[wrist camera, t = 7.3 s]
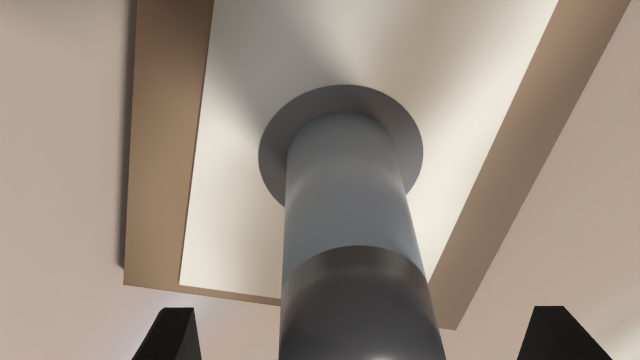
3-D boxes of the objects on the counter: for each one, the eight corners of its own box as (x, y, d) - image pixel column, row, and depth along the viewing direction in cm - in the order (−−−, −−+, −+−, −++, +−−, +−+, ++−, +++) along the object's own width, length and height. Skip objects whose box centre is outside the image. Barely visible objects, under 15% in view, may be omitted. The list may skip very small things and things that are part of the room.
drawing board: (629, -23, 16) (641, -14, 15) (452, 318, 24) (456, 333, 23) (149, -140, 14) (142, -136, 13) (127, 273, 22) (122, 287, 21)
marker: (396, 108, 17) (454, 313, 11) (393, 199, 19) (439, 420, 13) (283, 113, 17) (270, 321, 11) (290, 204, 19) (284, 426, 13)
